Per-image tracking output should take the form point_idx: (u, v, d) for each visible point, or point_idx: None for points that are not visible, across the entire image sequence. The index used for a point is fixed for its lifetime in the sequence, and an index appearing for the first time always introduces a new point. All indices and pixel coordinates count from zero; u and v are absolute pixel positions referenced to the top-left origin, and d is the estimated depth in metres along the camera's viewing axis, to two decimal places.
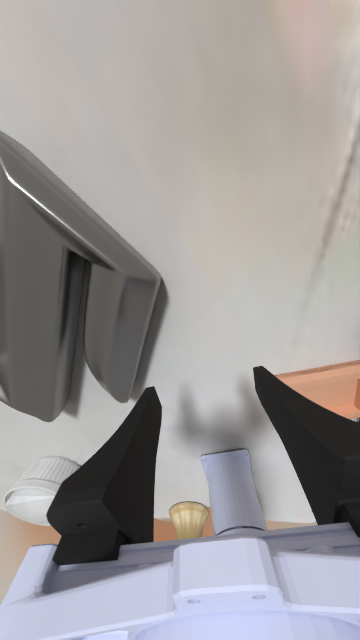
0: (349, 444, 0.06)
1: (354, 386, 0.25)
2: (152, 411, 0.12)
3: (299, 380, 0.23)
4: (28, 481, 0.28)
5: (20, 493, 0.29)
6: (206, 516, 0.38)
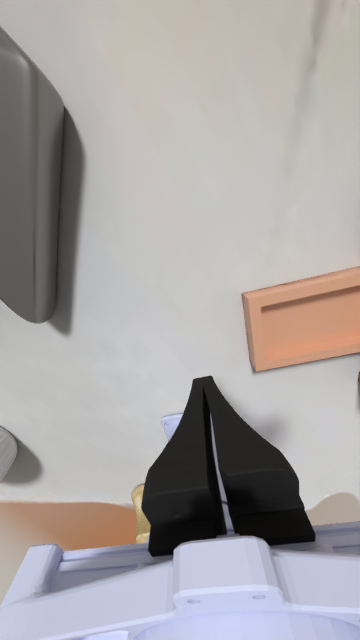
0: (239, 459, 0.06)
1: None
2: (205, 402, 0.12)
3: (282, 289, 0.16)
4: None
5: None
6: None
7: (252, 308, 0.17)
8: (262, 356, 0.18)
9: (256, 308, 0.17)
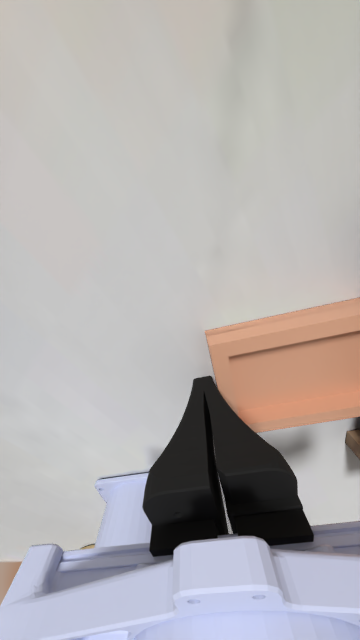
0: (238, 460, 0.06)
1: None
2: (206, 402, 0.12)
3: (260, 331, 0.11)
4: None
5: None
6: None
7: (216, 358, 0.11)
8: None
9: (222, 359, 0.11)
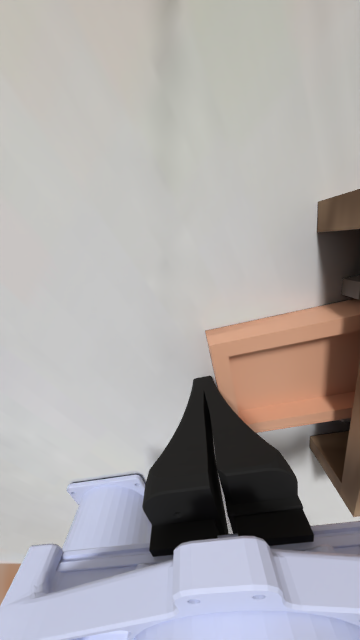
0: (238, 460, 0.06)
1: None
2: (206, 402, 0.12)
3: (260, 331, 0.11)
4: None
5: None
6: None
7: (216, 358, 0.11)
8: None
9: (222, 359, 0.11)
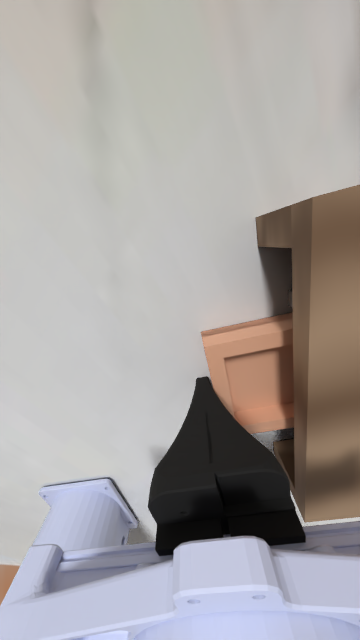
0: (231, 461, 0.06)
1: None
2: None
3: (255, 332, 0.11)
4: None
5: None
6: None
7: (211, 359, 0.11)
8: None
9: (217, 360, 0.11)
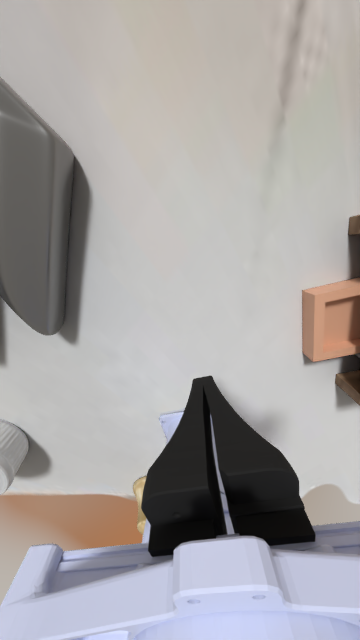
0: (239, 459, 0.06)
1: None
2: (205, 402, 0.12)
3: (345, 286, 0.18)
4: None
5: None
6: None
7: (317, 303, 0.18)
8: (320, 348, 0.20)
9: (321, 304, 0.18)
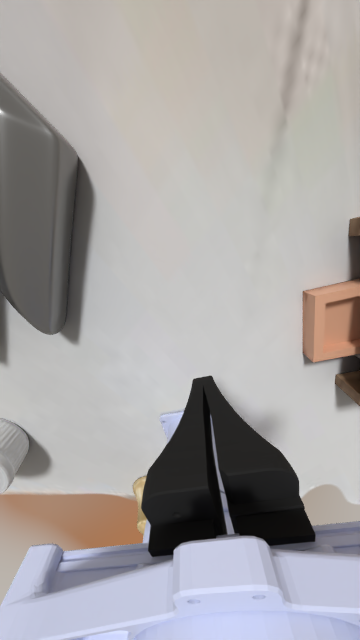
0: (239, 459, 0.06)
1: None
2: (205, 402, 0.12)
3: (345, 287, 0.18)
4: None
5: None
6: None
7: (317, 304, 0.18)
8: (320, 348, 0.20)
9: (321, 305, 0.18)
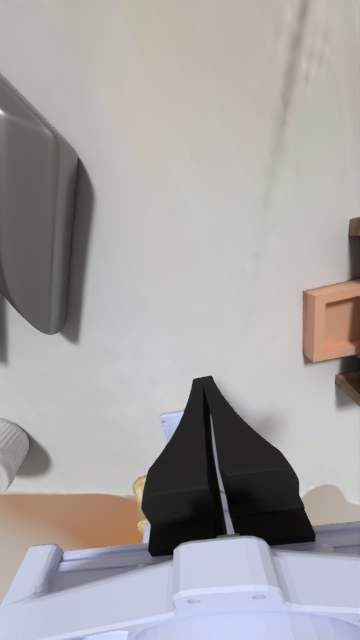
0: (239, 459, 0.06)
1: None
2: (205, 402, 0.12)
3: (345, 287, 0.18)
4: None
5: None
6: None
7: (317, 304, 0.18)
8: (320, 348, 0.20)
9: (321, 305, 0.18)
